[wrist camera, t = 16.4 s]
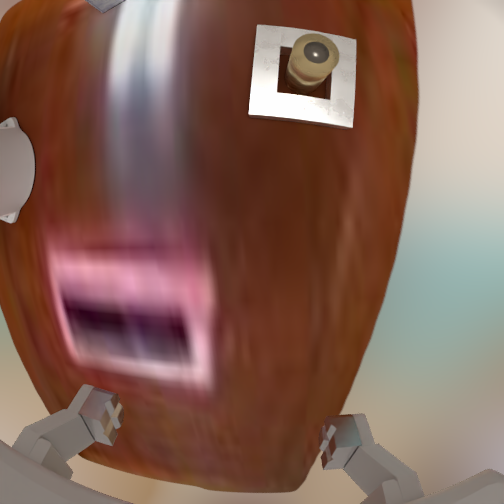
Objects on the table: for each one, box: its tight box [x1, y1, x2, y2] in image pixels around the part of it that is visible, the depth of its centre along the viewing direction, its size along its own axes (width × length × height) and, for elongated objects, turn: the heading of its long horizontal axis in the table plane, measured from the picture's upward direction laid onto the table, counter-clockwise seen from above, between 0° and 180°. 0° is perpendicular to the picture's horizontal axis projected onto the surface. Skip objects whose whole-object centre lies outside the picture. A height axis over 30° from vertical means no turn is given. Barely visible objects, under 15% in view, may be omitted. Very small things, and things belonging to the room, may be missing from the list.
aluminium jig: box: [249, 25, 356, 130], centre depth 29 cm, size 12×12×3 cm
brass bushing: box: [285, 33, 339, 94], centre depth 25 cm, size 4×4×10 cm
